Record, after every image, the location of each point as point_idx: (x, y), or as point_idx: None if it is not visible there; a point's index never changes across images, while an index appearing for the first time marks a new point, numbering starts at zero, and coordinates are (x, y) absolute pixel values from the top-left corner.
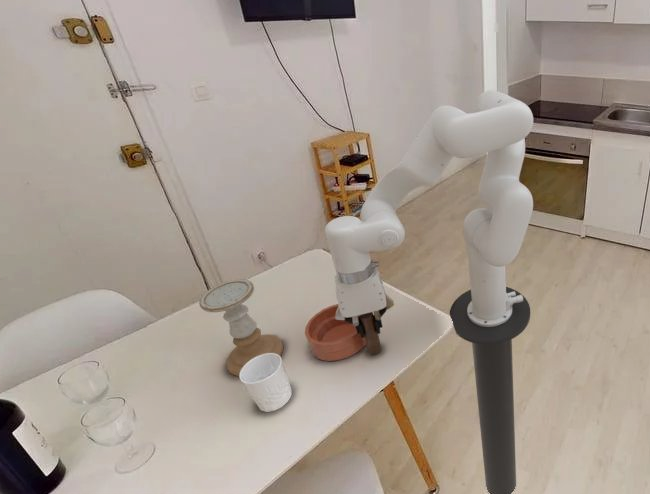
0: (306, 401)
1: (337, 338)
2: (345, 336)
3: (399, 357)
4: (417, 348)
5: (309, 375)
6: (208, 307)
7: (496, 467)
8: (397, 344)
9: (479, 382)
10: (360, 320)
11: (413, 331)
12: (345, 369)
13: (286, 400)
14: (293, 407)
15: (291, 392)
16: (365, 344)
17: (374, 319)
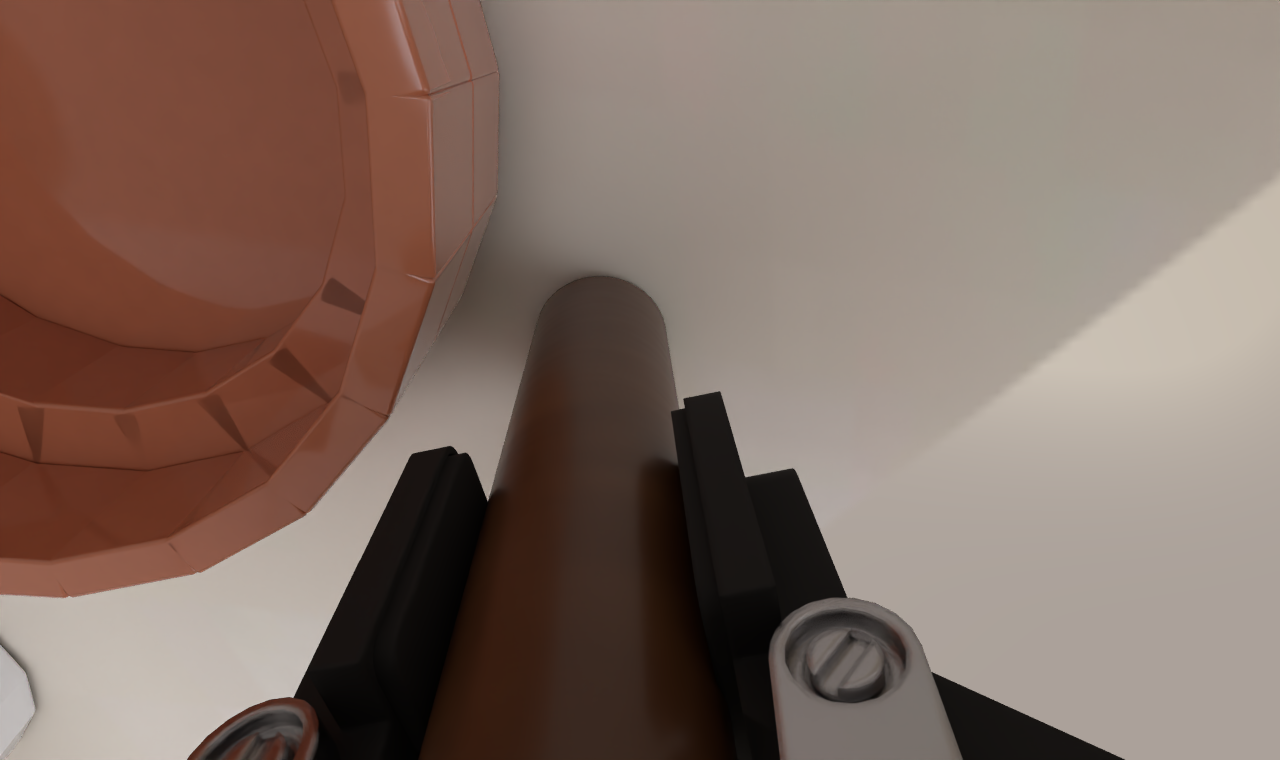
0: (180, 713)
1: (50, 95)
2: (147, 70)
3: (847, 445)
4: (1033, 365)
5: None
6: None
7: None
8: (832, 280)
9: None
10: (415, 738)
11: (1039, 93)
12: (361, 504)
13: (20, 733)
14: (112, 739)
15: (7, 665)
16: (472, 263)
17: (740, 744)
